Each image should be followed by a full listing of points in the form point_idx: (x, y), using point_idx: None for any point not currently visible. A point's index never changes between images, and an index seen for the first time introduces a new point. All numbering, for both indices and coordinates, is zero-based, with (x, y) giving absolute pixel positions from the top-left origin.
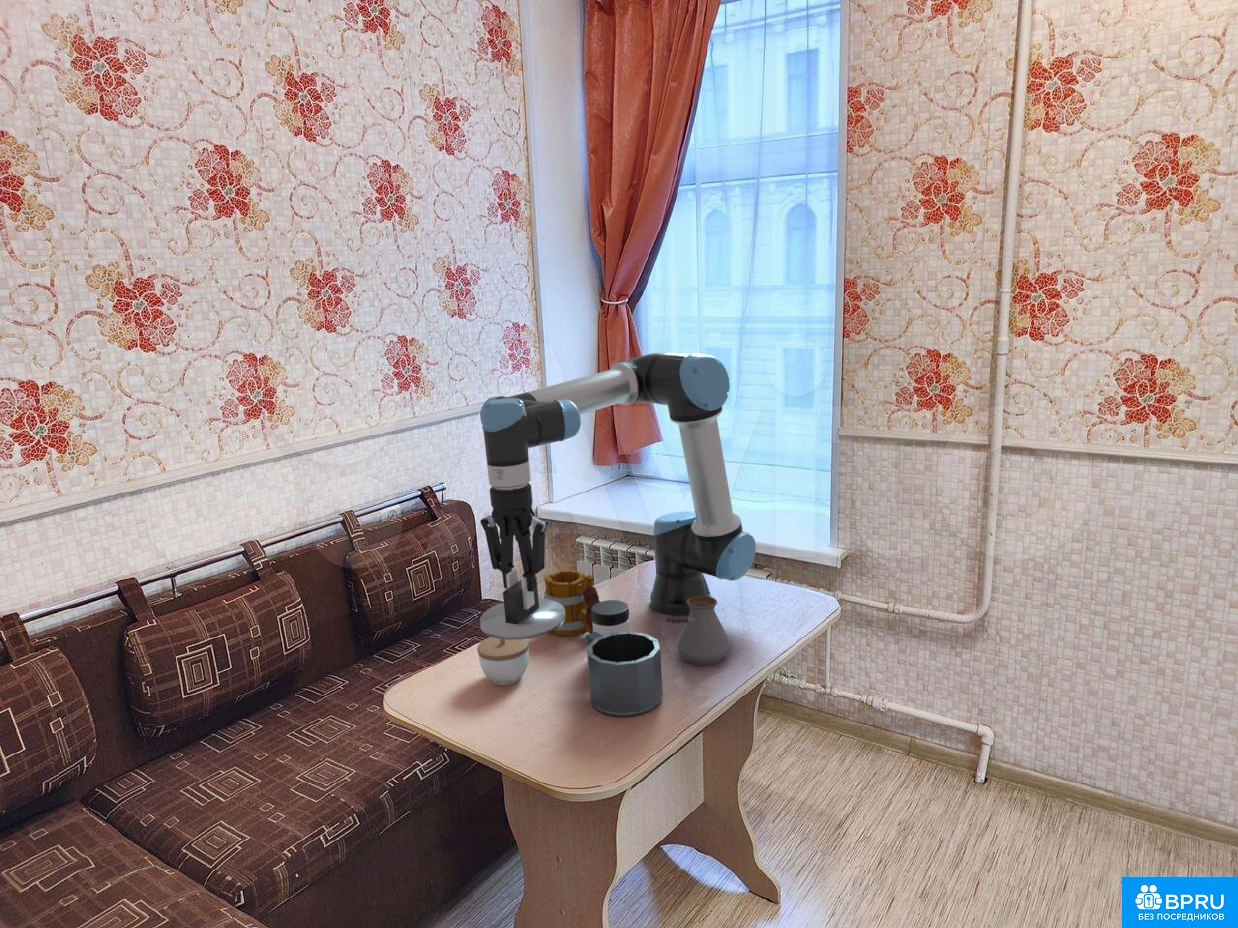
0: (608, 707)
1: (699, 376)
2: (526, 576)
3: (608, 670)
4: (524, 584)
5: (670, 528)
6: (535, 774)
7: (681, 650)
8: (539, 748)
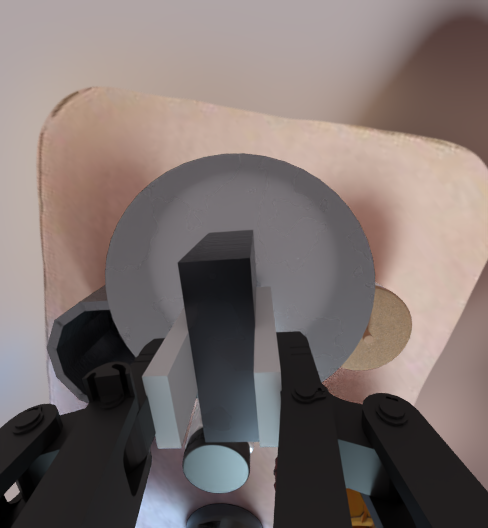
0: None
1: None
2: (101, 367)
3: (104, 295)
4: (164, 345)
5: None
6: (145, 95)
7: None
8: (181, 157)
